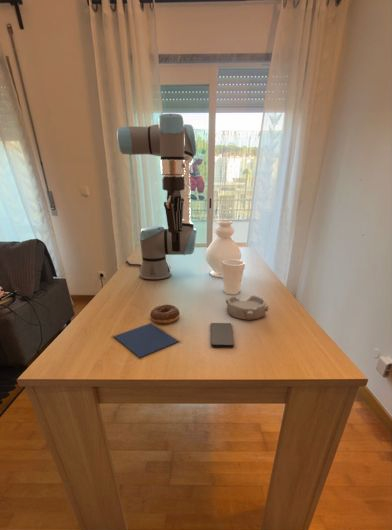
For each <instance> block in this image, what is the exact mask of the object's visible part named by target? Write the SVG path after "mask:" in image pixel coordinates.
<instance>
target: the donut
mask: <svg viewBox="0 0 392 530" xmlns="http://www.w3.org/2000/svg"><path fill="white" fill-rule="evenodd" d="M149 315H150V319H151V320H152V321H153V322H155V323H158V324H169V323H174V322H175V321H177V320H178V319H179V318H180V310H179V308H178V307H176V306H175V305H173V304H168V303H167V304H160V305H158V306H155V307H154V308H152V309H151V310H150V313H149Z"/></svg>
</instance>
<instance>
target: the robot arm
mask: <svg viewBox="0 0 392 530" xmlns="http://www.w3.org/2000/svg"><path fill="white" fill-rule="evenodd" d="M116 141H117V146H118V149H119V152H120V153H121V154H122V155H129V156H132V155H133V156H134V155H137V156H138V155H151V156H154V157H160V173H161V175H162V177H161V187H162V190H163V191H166V201H164V202H163V206H164V210H165V216H166V224H167V228H165V226H164V225H162V224H155V225H150V226H146V227H143V228H141V230H140V231H139V241H140V251H141V260H142V261H141V263H140V264H139V263H130V262H129V260H128V259H126V260H125V264H127V265H129V266H136V267H140V271H139V277H140V279H143V280H146V281H160V280H165V279H168V278H170V277H171V268H170V266H169V264H168V261H167V256H169V255H170V256H172V255H173V256H186V255H192V254H194V252H195V247H196V240H197V228H195V227H194V223H193V222H192V221H191V165H192V163H193V162H194V158H195V157H197V146H196V135H195V128H194V127H193V125H192V124H188V123H187V124H185V121H184V116H183V115H182V114H179V113H162V114H160V115H159V116H158V123H157V124H152V125H148V126H129V125H125V126H119V127H118V128H117V131H116Z"/></svg>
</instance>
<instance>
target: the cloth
mask: <svg viewBox="0 0 392 530" xmlns="http://www.w3.org/2000/svg"><path fill="white" fill-rule="evenodd" d="M113 338H114V339H115V340H117V342H119V343H120V344H122V345H123V346H124V347H125V348H126V349H128V350H129V351H130V352H131V353H132V354H134V356H136V357H137V358H139V359H141V358H144V357H146V356H148V355H150V354H153V353H155V352H159V351H160V350H163V349H165V348H167V347H170V346H173V345H175V344H177V343H179V340H178V339H176V338H174V337H173V336H171V335H169V334H168V333H166V332H165V331H164V330H162V329H160V328H158V326H156V325H154V324H152V323H151V322H150V323H148V324H145V325H142V326H139V327H137V328H133V329H131V330H128V331H126V332H122V333H120V334H116V335H113Z"/></svg>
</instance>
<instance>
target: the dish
mask: <svg viewBox="0 0 392 530" xmlns="http://www.w3.org/2000/svg"><path fill="white" fill-rule="evenodd" d="M225 303H226V305H227V307H226V309H227V312H228V314H229V315H231V316H232V317H234V318H237V319H242V320H256V319H257V320H258V319H260V318H262V317H263V316H265V315H266V312H268V311H269V305H268V304H267V301H266V300H265V298H262V297H260V296H257V295H251V296H250V297H249V298H248V299H246V300H240V299H239V298H237V297H236V295H231V296H230V297H227V298H225Z"/></svg>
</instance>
